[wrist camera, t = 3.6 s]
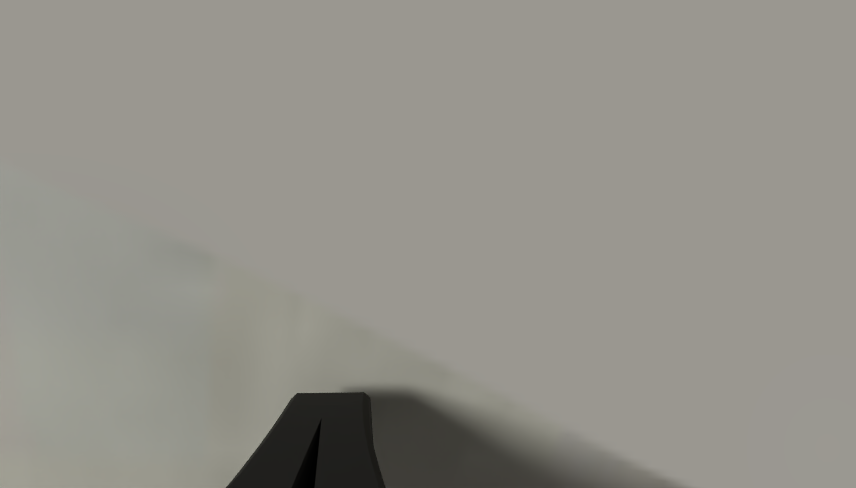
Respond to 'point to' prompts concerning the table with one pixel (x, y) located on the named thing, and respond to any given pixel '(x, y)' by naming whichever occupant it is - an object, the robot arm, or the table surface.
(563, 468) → the table surface
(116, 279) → the table surface
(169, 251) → the table surface
